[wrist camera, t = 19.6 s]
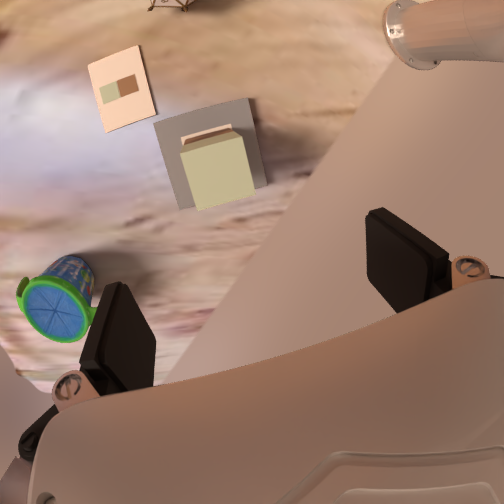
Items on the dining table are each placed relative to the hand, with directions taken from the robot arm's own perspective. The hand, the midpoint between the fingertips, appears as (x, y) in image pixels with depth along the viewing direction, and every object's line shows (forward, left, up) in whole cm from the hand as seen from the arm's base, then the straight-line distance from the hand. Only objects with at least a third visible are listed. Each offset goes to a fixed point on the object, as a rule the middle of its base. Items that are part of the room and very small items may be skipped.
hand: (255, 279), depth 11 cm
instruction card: (+9, -12, -30) cm, 34 cm away
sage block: (0, 0, -23) cm, 23 cm away
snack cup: (+26, +11, -31) cm, 42 cm away
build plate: (0, 0, -30) cm, 30 cm away
